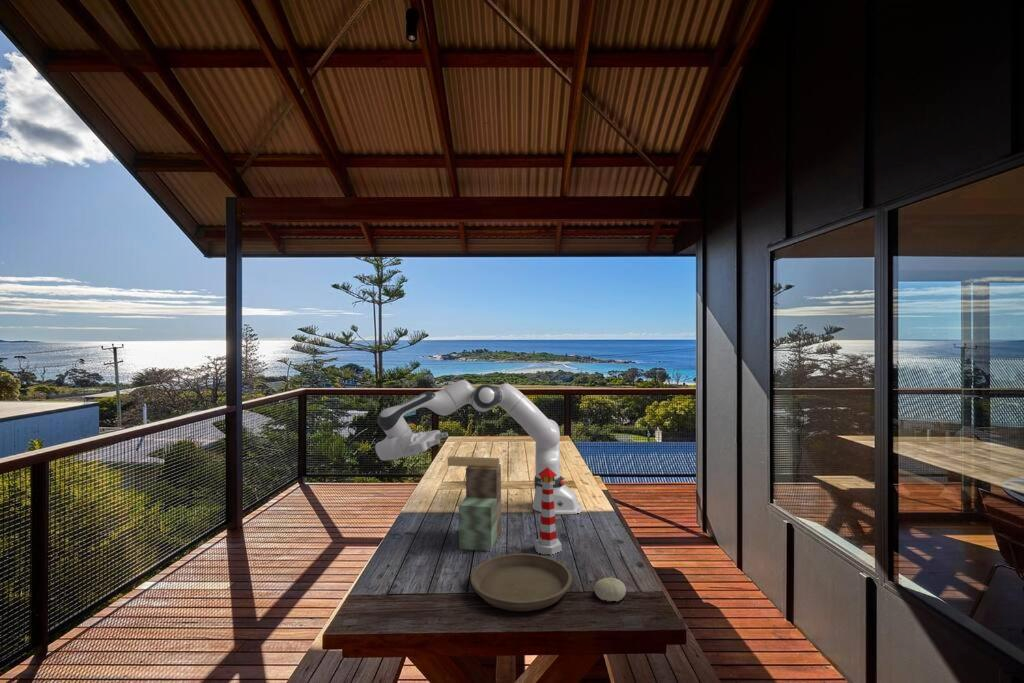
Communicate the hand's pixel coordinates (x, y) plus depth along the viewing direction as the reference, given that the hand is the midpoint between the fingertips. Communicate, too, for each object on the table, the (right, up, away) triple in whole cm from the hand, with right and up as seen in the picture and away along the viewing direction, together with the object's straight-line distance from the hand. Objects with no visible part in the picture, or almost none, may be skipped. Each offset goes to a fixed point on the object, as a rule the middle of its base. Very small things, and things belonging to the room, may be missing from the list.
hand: (443, 437), depth 208 cm
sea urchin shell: (+57, -37, -55) cm, 87 cm away
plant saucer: (+30, -38, -50) cm, 69 cm away
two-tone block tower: (+16, -37, -13) cm, 42 cm away
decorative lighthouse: (+41, -37, -21) cm, 59 cm away
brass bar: (+13, -10, -7) cm, 17 cm away
